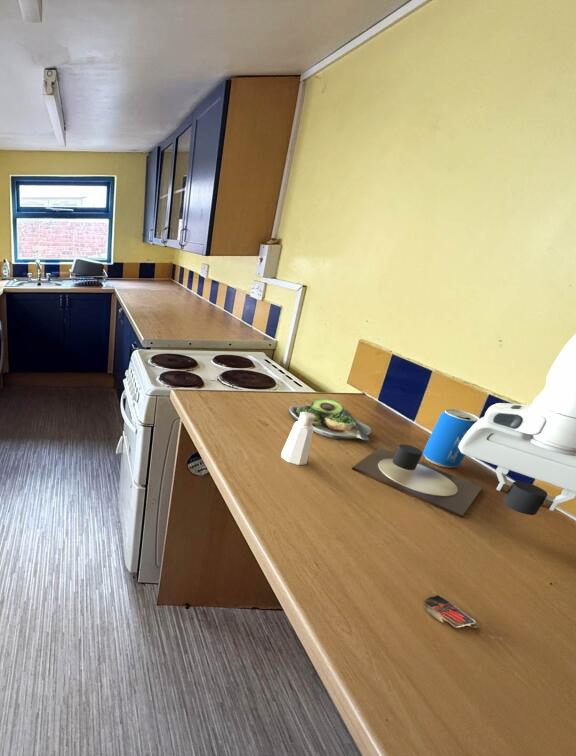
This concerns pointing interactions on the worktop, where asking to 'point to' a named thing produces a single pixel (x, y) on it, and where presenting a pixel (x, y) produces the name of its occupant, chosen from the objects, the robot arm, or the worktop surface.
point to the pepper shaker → (299, 440)
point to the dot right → (525, 498)
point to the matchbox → (448, 612)
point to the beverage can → (448, 438)
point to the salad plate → (332, 420)
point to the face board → (421, 482)
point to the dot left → (407, 457)
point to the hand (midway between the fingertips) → (523, 498)
